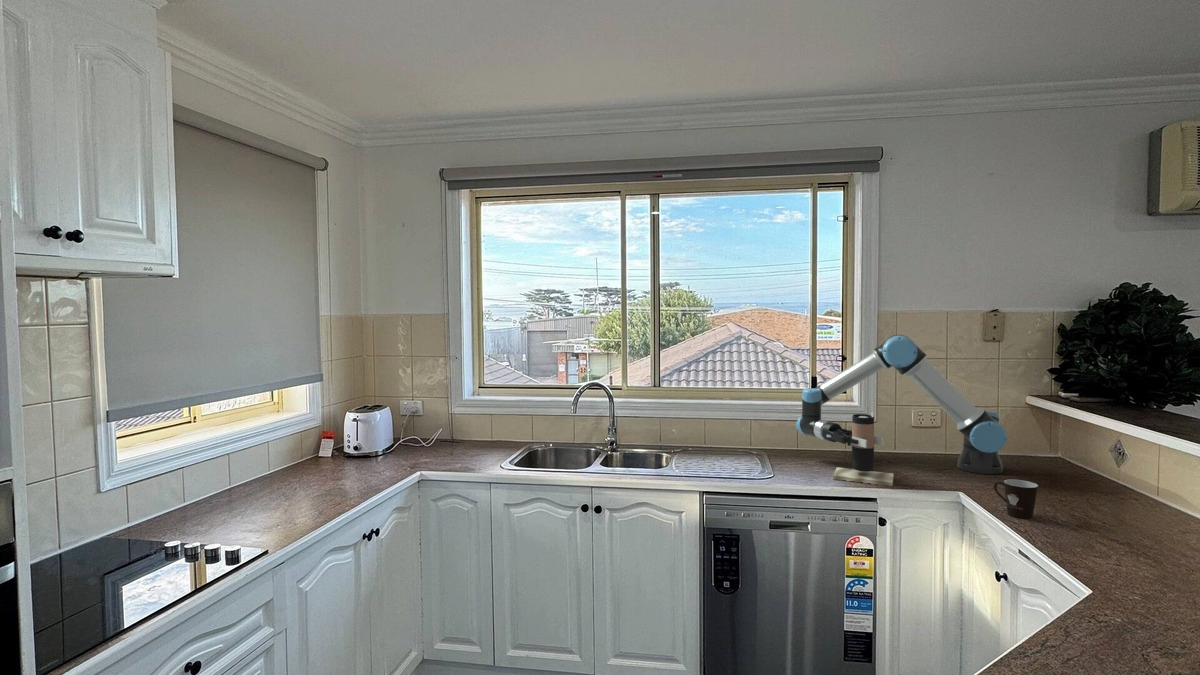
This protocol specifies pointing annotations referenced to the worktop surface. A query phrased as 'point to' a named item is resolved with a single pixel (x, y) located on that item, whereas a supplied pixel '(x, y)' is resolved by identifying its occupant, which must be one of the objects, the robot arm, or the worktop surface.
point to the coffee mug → (1019, 498)
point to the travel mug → (864, 430)
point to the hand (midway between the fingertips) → (874, 442)
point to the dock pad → (864, 476)
